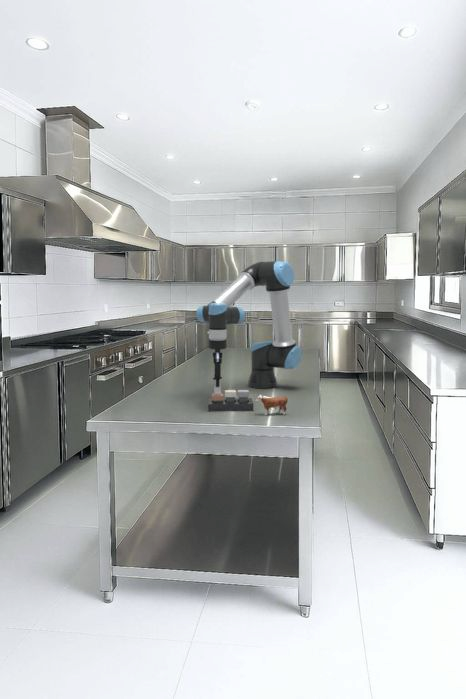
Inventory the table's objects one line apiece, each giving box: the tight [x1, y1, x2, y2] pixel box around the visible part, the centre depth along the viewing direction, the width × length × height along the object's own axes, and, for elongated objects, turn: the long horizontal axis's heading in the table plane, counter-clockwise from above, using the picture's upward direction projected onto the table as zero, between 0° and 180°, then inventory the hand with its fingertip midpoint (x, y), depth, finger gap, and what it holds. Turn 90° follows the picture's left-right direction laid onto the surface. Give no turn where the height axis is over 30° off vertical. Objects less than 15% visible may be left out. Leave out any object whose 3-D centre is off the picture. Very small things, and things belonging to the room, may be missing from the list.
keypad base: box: [207, 397, 254, 412], centre depth 238 cm, size 19×12×3 cm, turn 92°
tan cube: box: [211, 392, 224, 402], centre depth 238 cm, size 5×5×5 cm
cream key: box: [224, 389, 237, 402], centre depth 238 cm, size 5×5×5 cm
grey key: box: [237, 389, 250, 402], centre depth 238 cm, size 5×5×5 cm
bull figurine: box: [254, 394, 288, 416], centre depth 227 cm, size 4×13×8 cm, turn 95°
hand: (217, 394), depth 237 cm, fingers closed
